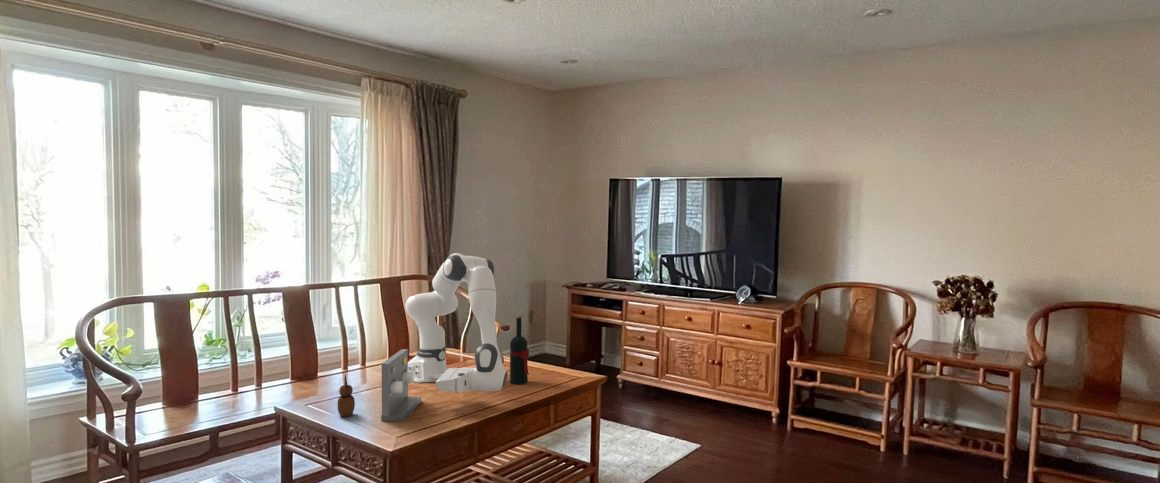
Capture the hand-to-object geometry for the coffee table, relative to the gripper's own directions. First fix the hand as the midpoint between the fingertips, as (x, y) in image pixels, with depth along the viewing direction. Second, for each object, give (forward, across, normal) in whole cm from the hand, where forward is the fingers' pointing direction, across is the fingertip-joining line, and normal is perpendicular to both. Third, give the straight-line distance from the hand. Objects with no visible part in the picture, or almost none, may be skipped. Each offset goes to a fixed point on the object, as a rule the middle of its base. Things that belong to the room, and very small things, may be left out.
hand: (430, 378), depth 257 cm
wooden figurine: (+28, +14, +11) cm, 33 cm away
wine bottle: (-31, -35, +11) cm, 48 cm away
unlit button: (+9, +14, +2) cm, 17 cm away
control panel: (+8, +7, +11) cm, 15 cm away
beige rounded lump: (+9, 0, +2) cm, 9 cm away
